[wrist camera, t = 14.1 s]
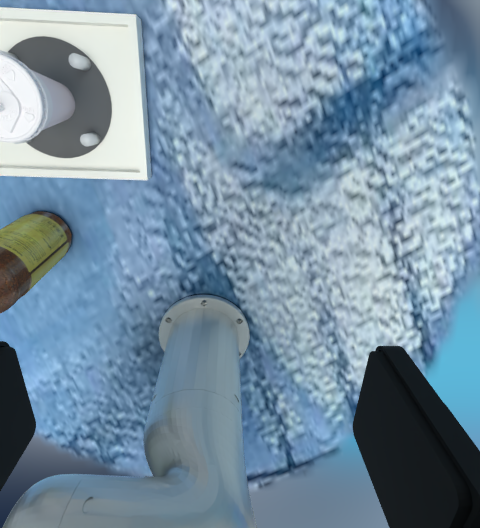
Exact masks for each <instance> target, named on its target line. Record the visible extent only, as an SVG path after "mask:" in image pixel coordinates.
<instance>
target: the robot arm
mask: <svg viewBox="0 0 480 528" xmlns="http://www.w3.org/2000/svg"><path fill="white" fill-rule="evenodd" d="M203 300H205V301H203ZM239 318H240V319H239ZM158 334H159V342H160V345H161V348H162V350H163V351H164V356H163V360H162V364H161V367H160V371H159V375H158V379H157V383H156V386H155V390H154V394H153V398H152V401H151V405H150V409H149V413H148V417H147V421H146V424H145V429H144V450H145V456H146V459H147V462H148V465H149V468H150V470H151V472H152V474H153V476H154V477H148V476H145V477H127V476H108V475H88V474H87V475H86V474H63V475H55V476H51V477H48V478H45V479H43V480H41V481H39V482H38V483H36V484H34V485H33V486H32V487H31V488H30V489H28V490H27V491H26V492H25V493H24V494H23V495H22V497H21V498H20V499H19V500H18V502H17V503H16V505H15V506H14V507H13V509H12V511H11V513H10V514H9V516H8V518H7V520H6V522H5V524H4V526H3V528H257V527H256V523H255V518H254V513H253V508H252V504H251V499H250V494H249V489H248V483H247V476H246V468H245V459H244V446H243V427H242V406H241V383H240V360H239V359H240V358H241V357H242V356H243V354H244V353H245V351H246V349H247V347H248V344H249V338H250V335H249V326H248V322H247V320H246V317H245V316H244V314H243V313H242V311H241V310H240V309H239V308H238V307H237V306H236V305H234V304H233V303H231V302H230V301H228V300H226V299H223V298H221V297H218V296H213V295H193V296H190V297H186V298H184V299H182V300H179V301H177V302H176V303H175V304H173V305H172V306H171V307H170V308H169V309H168V310H167V311H166V312H165V314H164V316H163V318H162V320H161V323H160V326H159V332H158ZM35 428H36V421H35V418H34V414H33V411H32V407H31V404H30V400H29V397H28V393H27V390H26V386H25V383H24V379H23V376H22V372H21V369H20V365H19V361H18V358H17V354H16V351H15V349H14V348H12V347H10V346H9V344H8V343H6V342H3V341H0V491H1V489H2V487H3V486H4V484H5V482H6V481H7V479H8V477H9V476H10V474H11V472H12V471H13V469H14V467H15V466H16V464H17V462H18V461H19V459H20V457H21V456H22V454H23V452H24V451H25V449H26V447H27V445H28V444H29V442H30V441H31V439H32V437H33V435H34V432H35ZM353 432H354V436H355V439H356V442H357V444H358V447H359V450H360V452H361V455H362V457H363V460H364V462H365V465H366V468H367V470H368V473H369V476H370V478H371V481H372V483H373V486H374V489H375V491H376V494H377V496H378V499H379V502H380V504H381V507H382V509H383V512H384V514H385V516H386V519H387V522H388V525H389V527H390V528H480V451H479V450H478V448H477V447H476V445H475V444H474V443H473V441H472V440H471V439H470V437H469V436H468V435H467V433H466V432H465V431H464V429H463V428H462V426H461V425H460V424H459V422H458V421H457V420H456V418H455V417H454V415H453V414H452V413H451V412H450V410H449V409H448V407H447V406H446V405H445V404H444V403H443V402H442V400H441V399H440V397H439V396H438V395H437V393H436V392H435V391H434V389H433V388H432V387H431V385H430V384H429V383H428V381H427V380H426V378H425V377H424V376H423V374H422V373H421V372H420V370H419V369H418V367H417V366H416V365H415V363H414V362H413V361H412V359H411V358H410V357H409V355H408V354H407V352H406V351H405V350H404V349H403V348H402V347H400V346H378V347H377V348H376V351H372V352H371V353H370V355H369V358H368V362H367V367H366V371H365V375H364V379H363V383H362V388H361V392H360V396H359V400H358V404H357V409H356V413H355V417H354V421H353Z"/></svg>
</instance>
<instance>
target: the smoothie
mask: <svg viewBox="0 0 480 528" xmlns="http://www.w3.org/2000/svg"><path fill="white" fill-rule="evenodd" d="M74 110H75V101H74V97H73V95H72V93H71V92H70V90H69V89H68V88H67V87H66V86H64V85H63V84H61V83H59V82H57V81H55V80H52V79H50V78H48V77H46V76H44V75H41V74H39V73H37V72H35V71H33V70H30V69H29V68H28V67H27V66H26V65H25V64H24V63H22V62H21V61H19V60H17V59H16V58H14V57H12V56H9V55H6V54H3V53H0V141H1V142H7V143H15V142H24V141H28V140H31V139H32V138H34V137H35V136H37V135H38V134H39V133H40V132H41V131H42V130H44V129H46V128H49V127H51V126H53V125H56V124H58V123H61V122H63V121H65V120H68V119H69V118H70V117H71V116H72V115H73V113H74Z"/></svg>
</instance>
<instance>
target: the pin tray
mask: <svg viewBox="0 0 480 528" xmlns="http://www.w3.org/2000/svg"><path fill="white" fill-rule="evenodd" d="M0 53H3V54H6V55H9V56H12V57H14V58H16V59H17V60H19V61H21V62H22V63H24V64H25V65H26V66H27V67H28V68H29V69H30V70H33V71H35V72H37V73H39V74H41V75H44V76H46V77H48V78H50V79H52V80H55V81H57V82H59V83H61V84H63V85H64V86H66V87H67V88H68V89H69V90H70V92H71V93H72V95H73V97H74V101H75V110H74V113H73V115H72V116H71V117H70V118H69V119H68V120H65V121H63V122H61V123H58V124H56V125H53V126H51V127H49V128H46V129H44V130H42V131H41V132H40V133H39V134H38V135H37V136H35V137H34V138H32V139H31V140H28V141H24V142H15V143H7V142H1V141H0V176H28V177H59V178H90V179H121V180H149V179H150V178H151V177H152V173H151V158H150V143H149V128H148V113H147V98H146V83H145V68H144V53H143V38H142V23H141V19H140V18H139V17H138V16H137V15H136V14H117V13H98V12H79V11H60V10H41V9H22V8H3V7H0Z"/></svg>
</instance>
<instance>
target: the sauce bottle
mask: <svg viewBox="0 0 480 528" xmlns="http://www.w3.org/2000/svg"><path fill="white" fill-rule="evenodd" d="M71 237H72V236H71V232H70V229H69V228H68V226H67V225H66V224H65V222H64V221H63V220H62V219H61V218H59V217H58V216H56V215H54V214H52V213H49V212H43V211H38V212H34V213H31V214H29V215H25V216H23V217H21V218H19V219H17V220H16V221H14V222H12V223H11V224H9V225H7V226H6V227H4V228H2V229H1V230H0V313H2V312H4V311H6V310H7V309H9V308H10V307H11V306H12V305H14V304H15V303H16V301H17V300H18V299H19V298H20V297H22V296H24V295H25V294H26V293H27V292H28V291H29V290H30V289H31V288H32V287H33V286H34V285H35V284H36V283H37V282H38V281H39V280H40V279H41V278H42V277H43V276H44V275H45V274H46V273H47V272H48V271H49V270H50V269H51V268H52V267H53V266H54V265H55V264H56V263H57V262H58V261H59V260H60V259H61V258H63V256H64V255H65V254H66V253H67V252H68V249H69V247H70V244H71Z"/></svg>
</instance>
